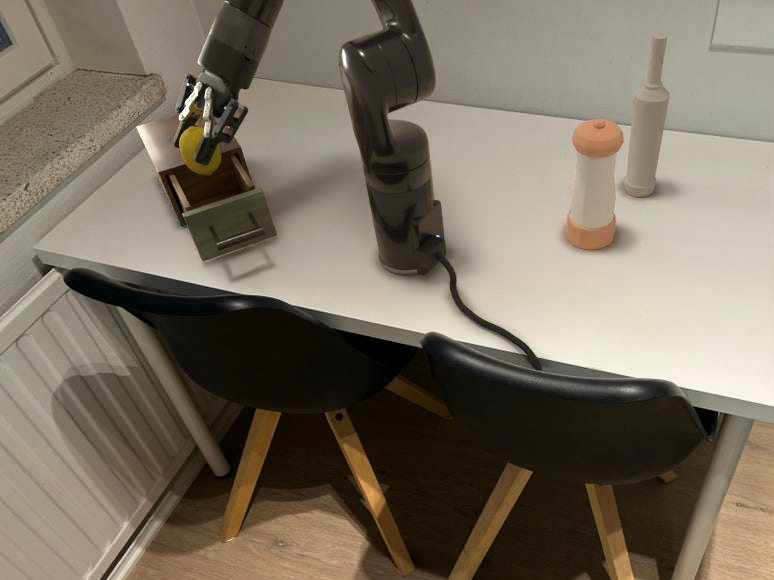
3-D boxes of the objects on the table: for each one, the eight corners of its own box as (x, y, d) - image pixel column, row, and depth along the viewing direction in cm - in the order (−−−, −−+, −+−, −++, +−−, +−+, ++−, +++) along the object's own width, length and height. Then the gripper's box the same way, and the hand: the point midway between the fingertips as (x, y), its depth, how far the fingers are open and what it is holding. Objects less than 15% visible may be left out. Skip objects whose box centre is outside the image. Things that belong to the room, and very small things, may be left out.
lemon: (218, 186, 107) (200, 138, 101) (184, 183, 108) (164, 135, 102) (233, 166, 110) (217, 118, 105) (201, 163, 111) (182, 116, 106)
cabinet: (258, 200, 121) (240, 146, 114) (181, 226, 117) (157, 172, 110) (230, 156, 131) (213, 104, 124) (158, 178, 127) (136, 126, 120)
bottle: (652, 200, 116) (675, 45, 98) (620, 195, 117) (637, 41, 99) (657, 182, 119) (681, 29, 101) (626, 178, 121) (644, 26, 102)
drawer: (289, 255, 109) (275, 209, 103) (213, 283, 105) (193, 237, 99) (248, 188, 122) (233, 145, 116) (178, 211, 118) (159, 167, 112)
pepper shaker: (600, 216, 114) (610, 102, 100) (622, 242, 109) (636, 126, 95) (558, 228, 112) (563, 114, 98) (579, 254, 107) (587, 139, 93)
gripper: (187, 20, 102) (142, 129, 106) (241, 48, 95) (191, 165, 98) (230, 44, 109) (187, 147, 112) (284, 73, 101) (236, 181, 105)
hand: (189, 155), depth 105 cm, fingers closed on lemon, 5 cm apart
